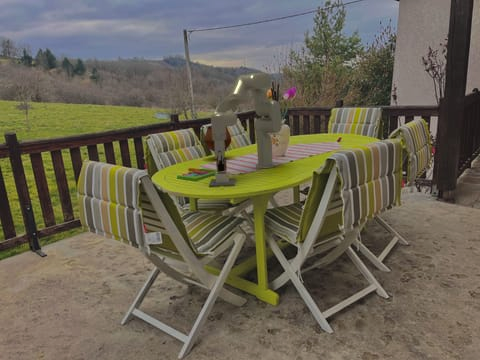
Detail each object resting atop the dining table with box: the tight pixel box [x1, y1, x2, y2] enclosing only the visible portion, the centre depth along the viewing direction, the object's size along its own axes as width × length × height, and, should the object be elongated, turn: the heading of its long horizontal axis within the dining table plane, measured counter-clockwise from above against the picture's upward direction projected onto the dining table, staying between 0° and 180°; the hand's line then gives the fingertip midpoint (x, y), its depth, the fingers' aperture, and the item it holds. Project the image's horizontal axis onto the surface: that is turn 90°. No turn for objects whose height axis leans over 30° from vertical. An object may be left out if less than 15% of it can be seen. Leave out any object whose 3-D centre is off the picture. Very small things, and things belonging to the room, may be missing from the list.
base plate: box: [208, 177, 237, 188], centre depth 206 cm, size 14×14×1 cm
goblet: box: [204, 125, 232, 162], centre depth 272 cm, size 19×19×25 cm
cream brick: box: [214, 171, 230, 183], centre depth 206 cm, size 5×7×5 cm
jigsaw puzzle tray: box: [176, 167, 217, 183], centre depth 231 cm, size 23×2×25 cm
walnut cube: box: [215, 160, 228, 172], centre depth 204 cm, size 5×5×5 cm
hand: (221, 169), depth 205 cm, fingers closed on walnut cube, 4 cm apart
